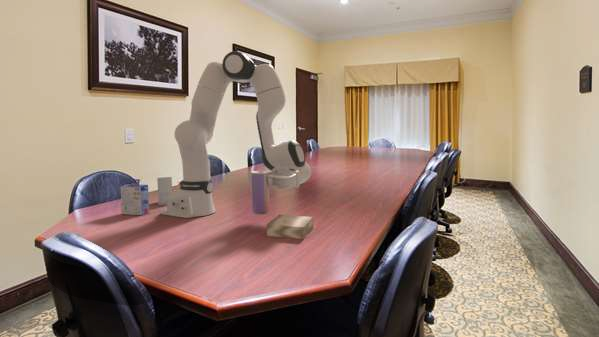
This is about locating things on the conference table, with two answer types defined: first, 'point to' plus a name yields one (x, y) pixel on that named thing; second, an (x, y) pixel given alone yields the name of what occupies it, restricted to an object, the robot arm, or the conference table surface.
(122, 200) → the ink cartridge box
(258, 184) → the beverage can
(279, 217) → the ash base block
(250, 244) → the conference table surface
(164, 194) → the small box
